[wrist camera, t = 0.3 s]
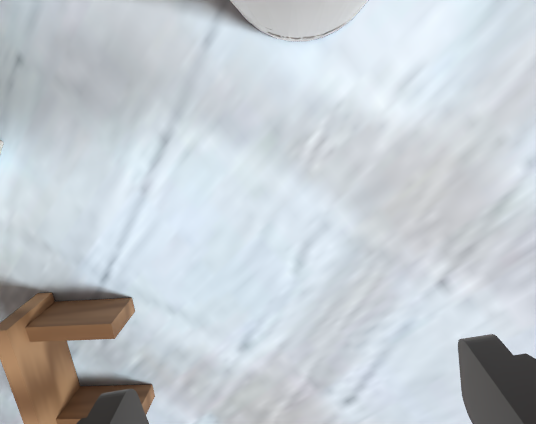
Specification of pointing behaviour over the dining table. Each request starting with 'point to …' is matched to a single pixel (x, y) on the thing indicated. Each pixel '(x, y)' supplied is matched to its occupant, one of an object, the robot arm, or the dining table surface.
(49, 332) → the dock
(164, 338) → the dining table surface
